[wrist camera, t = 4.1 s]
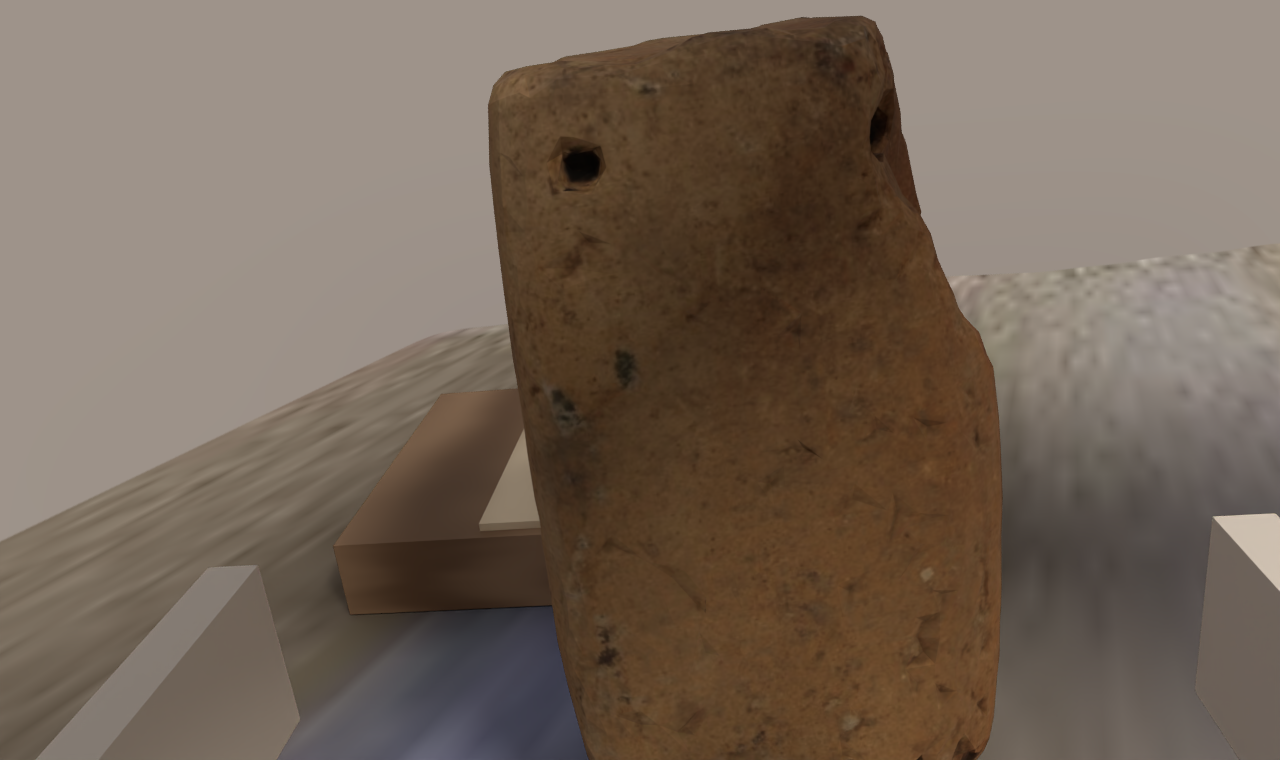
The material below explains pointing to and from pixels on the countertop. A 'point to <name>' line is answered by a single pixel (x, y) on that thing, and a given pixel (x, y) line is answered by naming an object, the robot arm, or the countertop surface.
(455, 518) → the plinth
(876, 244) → the catalogued terracotta fragment
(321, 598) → the countertop surface
